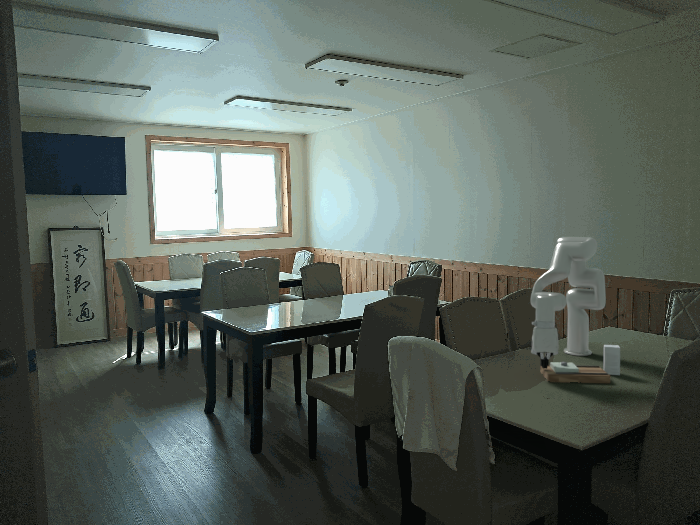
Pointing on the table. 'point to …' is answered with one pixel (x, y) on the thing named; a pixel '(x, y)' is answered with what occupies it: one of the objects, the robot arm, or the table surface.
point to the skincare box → (612, 359)
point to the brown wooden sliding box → (577, 375)
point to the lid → (563, 367)
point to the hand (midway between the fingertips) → (544, 367)
